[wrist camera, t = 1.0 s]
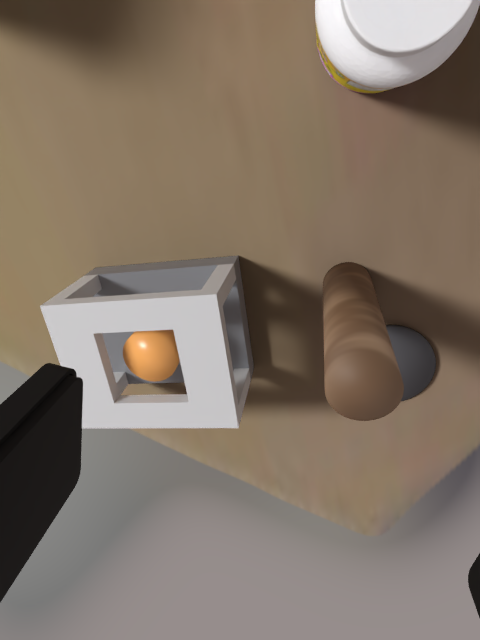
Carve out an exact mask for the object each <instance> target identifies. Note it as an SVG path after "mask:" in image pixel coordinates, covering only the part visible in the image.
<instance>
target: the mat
mask: <svg viewBox="0 0 480 640" xmlns="http://www.w3.org/2000/svg"><path fill="white" fill-rule="evenodd" d="M386 328H387V331H388V335H389V338H390V341H391V344H392V348H393V351H394V354H395V357H396V361H397V364H398V367H399V370H400V373H401V377H402V380H403V384H404V392H403V397H402V399H401V401H404V400H407V399H409V398H412V397H414V396H415V395H417V394H419V393H420V392H421V391H422V390H424V389H425V388H426V386H427V385H428V384H429V383H430V381H431V380H432V377H433V375H434V372H435V367H436V359H435V355H434V352H433V349H432V347H431V346H430V344H429V342H428V341H427V340H426V339H425V338H424V337H423V336H422V335H421V334H419V333H418V332H416V331H415V330H413V329H410V328H408V327H404V326H399V325H386Z"/></svg>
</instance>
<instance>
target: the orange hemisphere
mask: <svg viewBox="0 0 480 640" xmlns="http://www.w3.org/2000/svg"><path fill="white" fill-rule="evenodd" d="M123 358H124V361H125V363H126V365H127V367H128V368H129V369H130V371H131V372H132V373H134V374H135V375H136V376H138V377H139V378H141V379H144V380H147V381H154V382H156V381H162V380H165V379H167V378H169V377H170V376H171V375H172V374H173V373H174V371H175V370H176V368H177V366H178V364H179V362H180V359H179V354H178V350H177V345H176V340H175V336H174V331H173V330H155V331H135V332H133V334H132V335H131V336H130V337H129V338H128V339H127V341H126V342H125V344H124V347H123Z"/></svg>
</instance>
